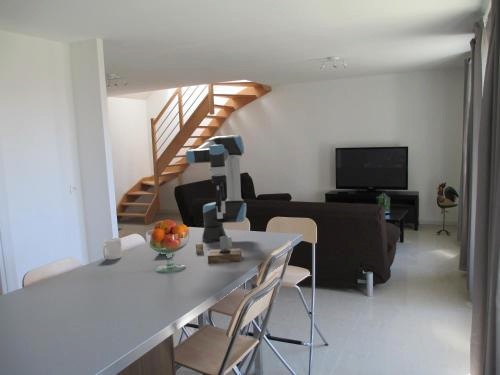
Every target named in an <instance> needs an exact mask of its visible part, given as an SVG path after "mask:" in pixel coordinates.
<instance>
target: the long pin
mask: <svg viewBox="0 0 500 375" xmlns="http://www.w3.org/2000/svg"><path fill="white" fill-rule="evenodd" d="M219 246H220V249H221V254H224V253H229V248H228V235H226V236H220V245H219Z"/></svg>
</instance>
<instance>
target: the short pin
mask: <svg viewBox="0 0 500 375" xmlns="http://www.w3.org/2000/svg"><path fill="white" fill-rule="evenodd" d="M204 253H205V252H204V243H202V242H198V243H195V254H197V255H198V254H199V255H201V254H204Z"/></svg>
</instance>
